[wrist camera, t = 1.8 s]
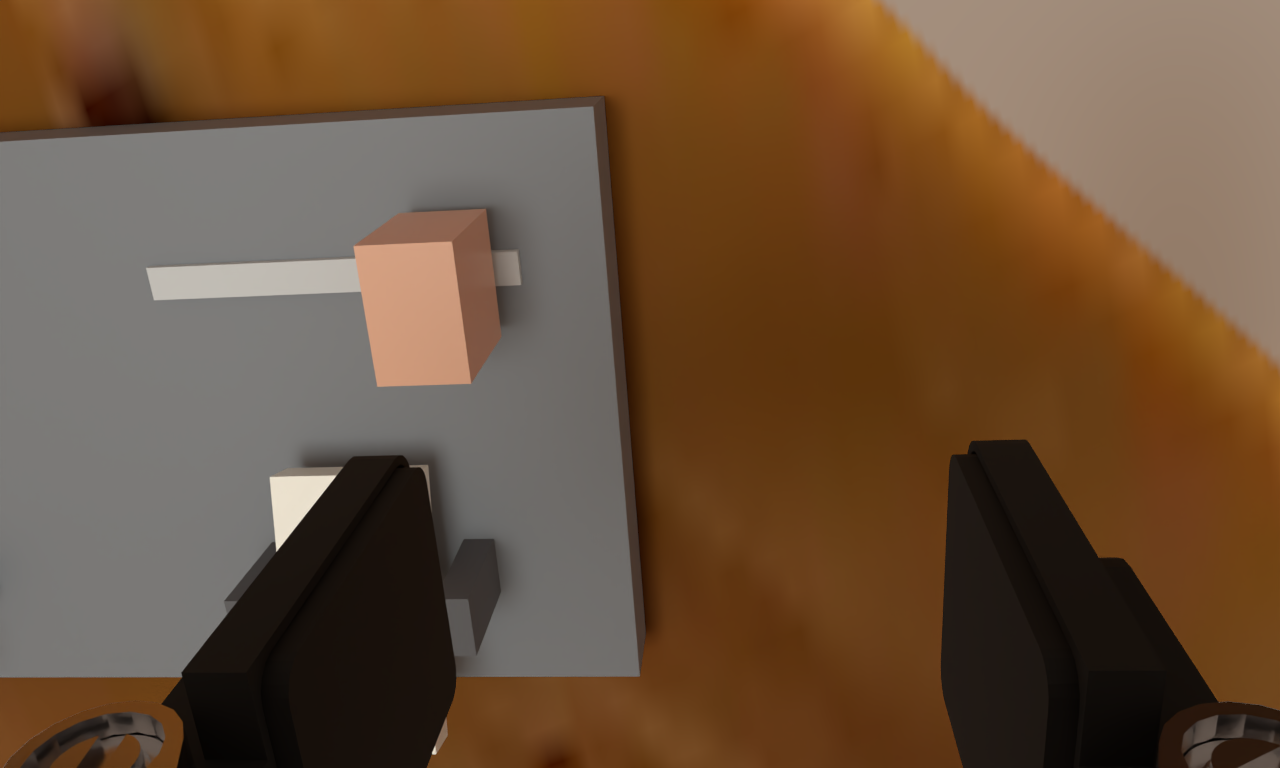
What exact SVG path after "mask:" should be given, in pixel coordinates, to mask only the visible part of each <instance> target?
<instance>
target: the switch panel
mask: <svg viewBox="0 0 1280 768" xmlns="http://www.w3.org/2000/svg"><path fill="white" fill-rule="evenodd" d="M470 209H486V213H487V221H488V229H489V237H490V246H491V254H492V262H493V270H494V278H495V287H496V295H497V303H498V311H499V319H500V328H501V336H502V337H501V338H500V340H499V341H498V343H497V344H496V346H495V347H494V349H493V351H492V352H491V354H490V355H489V357H488V358H487V360H486V361H485V363H484V365H483V366H482V368H481V369H480V371H479V372H478V374H477V375H476V377H475V379H474V380H473V382H472V383H471V384H450V385H418V386H386V387H377V382H376V376H375V370H374V364H373V359H372V353H371V347H370V341H369V335H368V329H367V323H366V317H365V312H364V306H363V300H362V294H361V288H360V282H359V276H358V270H357V265H356V259H355V253H354V247H353V246H354V245H355V244H357V243H358V242H360V241H361V240H362V239H364V238H365V237H366V236H368V235H369V234H371V233H372V232H373V231H375V230H376V229H377V228H379V227H380V226H382V225H383V224H384V223H386V222H387V221H388V220H390V219H391V218H393V217H394V216H395V215H397V214H398V213H410V212H430V211H450V210H470ZM384 455H403V456H404V457H405V458H406V459H407V461H408V463H409V465H428V468H429V482H430V496H431V510H432V518H433V524H434V531H435V537H436V543H437V550H438V556H439V562H440V569H441V575H442V581H443V588H444V594H445V600H446V607H447V613H448V619H449V626H450V632H451V638H452V645H453V651H454V657H455V664H456V677H606V676H640V671H641V664H642V657H643V650H644V643H645V636H646V628H645V615H644V602H643V590H642V577H641V564H640V551H639V538H638V525H637V512H636V499H635V487H634V474H633V461H632V448H631V435H630V422H629V409H628V396H627V384H626V371H625V358H624V345H623V332H622V319H621V306H620V294H619V281H618V268H617V255H616V242H615V229H614V216H613V203H612V191H611V178H610V165H609V152H608V139H607V126H606V113H605V100H604V96H596V97H579V98H563V99H546V100H529V101H513V102H496V103H480V104H463V105H447V106H430V107H414V108H397V109H381V110H364V111H347V112H331V113H314V114H298V115H281V116H265V117H248V118H232V119H215V120H198V121H182V122H165V123H149V124H132V125H116V126H99V127H83V128H66V129H50V130H33V131H16V132H0V677H182V674H181V672H182V671H183V670H184V668H185V667H186V666H187V665H188V663H189V662H190V661H191V660H192V658H193V657H194V656H195V654H196V653H197V652H198V651H199V649H200V648H201V647H202V646H203V644H204V643H205V642H206V641H207V639H208V638H209V637H210V635H211V634H212V633H213V632H214V630H215V629H216V628H217V627H218V625H219V624H220V623H221V621H222V620H223V619H224V618H225V616H226V615H227V614H228V613H229V611H230V610H231V609H232V608H233V606H234V605H235V604H236V602H237V601H238V600H239V599H240V597H241V596H242V595H243V594H244V592H245V591H246V590H247V589H248V587H249V586H250V585H251V583H252V582H253V581H254V580H255V578H256V577H257V576H258V575H259V573H260V572H261V571H262V570H263V568H264V567H265V566H266V564H267V563H268V562H269V561H270V559H271V558H272V557H273V556H274V554H275V553H276V541H275V530H274V520H273V509H272V498H271V487H270V476H272V475H275V474H277V473H279V472H281V471H283V470H285V469H287V468H314V467H344V466H345V464H346V463H347V462H348V461H349V459H351V458H352V457H353V456H384Z"/></svg>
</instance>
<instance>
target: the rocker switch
mask: <svg viewBox="0 0 1280 768" xmlns="http://www.w3.org/2000/svg"><path fill="white" fill-rule="evenodd" d="M409 466H410V467H421V468H422V470H423V471H424V473H425V476H426V481H427V486H428V493H429V499H430V505H431V496H430V482H429V468H428V465H409ZM342 468H343V467H314V468H287V469H285V470H283V471H281V472H279V473H277V474H275V475H272V476H270V487H271V498H272V509H273V520H274V530H275V541H276V552H277V551H278V549H279V548H280V547H281V545H282V544H283V543H284V542H285V540H286V539H287V538H288V537H289V535H290V534H291V533H292V532H293V530H294V529H295V528H296V526H297V525H298V524H299V523H300V521H301V520H302V519H303V518H304V516H305V515H306V514H307V513H308V511H309V510H310V509H311V507H312V506H313V505H314V504H315V502H316V501H317V500H318V499H319V497H320V496H321V495H322V494H323V492H324V491H325V490H326V488H327V487H328V486H329V485H330V483H331V482H332V481H333V480H334V478H335V477H336V476H337V475H338V473H339V472H340V471H341V469H342ZM431 512H432V510H431ZM447 736H448V734H447V720H446V719H445V721H444V724H443V727H442V729H441V732H440V734H439V737H438V739H437V742H436V745H435V747H434V750H433V752H432V754H437V752H438V750H439V749H440V747H441V745H442V744H443V742H444V740H445V739H446V737H447Z"/></svg>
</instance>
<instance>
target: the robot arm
mask: <svg viewBox="0 0 1280 768" xmlns="http://www.w3.org/2000/svg"><path fill="white" fill-rule="evenodd" d="M181 674H182V678H181V680H180V681H179V682H178V684H177V685H176V686H175V687H174V689H173V690H172V691H171V693H170V694H169V695H168V696H167V698H166V699H165V700H164V701H163V703H162V704H159V703H155V702H145V701H128V702H119V703H111V704H107V705H103V706H100V707H96V708H93V709H89V710H86V711H82V712H80V713H78V714H75V715H73V716H71V717H69V718H66V719H64V720H62V721H60V722H58V723H55V724H54V725H52V726H50V727H49V728H47V729H46V730H44V731H43V732H41V733H39V734H38V735H36V736H35V737H33V738H32V739H30V740H29V741H28V742H27V743H26V744H25V745H23V746H22V747H21V748H20V749H19V750H18V751H17V752H16V753H15V754H14V755H13V756H11V757H10V759H9V760H8V762H7V763H6V765H5V766H4V768H427V765H428V763H429V760H430V757H431V755H432V752H433V750H434V747H435V745H436V742H437V739H438V737H439V734H440V732H441V729H442V727H443V724H444V721H445V719H446V716H447V714H448V711H449V709H450V706H451V704H452V701H453V698H454V694H455V688H456V664H455V657H454V651H453V645H452V638H451V632H450V626H449V619H448V613H447V607H446V600H445V594H444V588H443V581H442V575H441V569H440V562H439V556H438V550H437V543H436V537H435V531H434V524H433V518H432V512H431V505H430V499H429V493H428V486H427V481H426V476H425V473H424V471H423V470H422V468H421V467H410V466H409V463H408V461H407V459H406V458H405V457H404V456H403V455H384V456H353V457H352V458H351V459H349V461H348V462H347V463H346V464H345V466H344V467H343V468H342V469H341V471H340V472H339V473H338V475H337V476H336V477H335V478H334V480H333V481H332V482H331V483H330V485H329V486H328V487H327V488H326V490H325V491H324V492H323V494H322V495H321V496H320V497H319V499H318V500H317V501H316V502H315V504H314V505H313V506H312V507H311V509H310V510H309V511H308V513H307V514H306V515H305V516H304V518H303V519H302V520H301V521H300V523H299V524H298V525H297V526H296V528H295V529H294V530H293V532H292V533H291V534H290V535H289V537H288V538H287V539H286V540H285V542H284V543H283V544H282V545H281V547H280V548H279V549H278V551H277V552H276V553H275V554H274V556H273V557H272V558H271V559H270V561H269V562H268V563H267V564H266V566H265V567H264V568H263V570H262V571H261V572H260V573H259V575H258V576H257V577H256V578H255V580H254V581H253V582H252V583H251V585H250V586H249V587H248V589H247V590H246V591H245V592H244V594H243V595H242V596H241V597H240V599H239V600H238V601H237V602H236V604H235V605H234V606H233V608H232V609H231V610H230V611H229V613H228V614H227V615H226V616H225V618H224V619H223V620H222V621H221V623H220V624H219V625H218V627H217V628H216V629H215V630H214V632H213V633H212V634H211V635H210V637H209V638H208V639H207V641H206V642H205V643H204V644H203V646H202V647H201V648H200V649H199V651H198V652H197V653H196V654H195V656H194V657H193V658H192V660H191V661H190V662H189V663H188V665H187V666H186V667H185V668H184V670H183V671H182V672H181ZM941 680H942V689H943V696H944V700H945V704H946V708H947V711H948V715H949V718H950V722H951V726H952V729H953V733H954V736H955V740H956V744H957V747H958V751H959V754H960V758H961V761H962V765H963V768H1280V710H1276V709H1273V708H1269V707H1265V706H1262V705H1255V704H1246V703H1237V702H1218V701H1217V699H1216V698H1215V696H1214V695H1213V693H1212V692H1211V690H1210V689H1209V687H1208V685H1207V684H1206V682H1205V681H1204V679H1203V678H1202V676H1201V675H1200V673H1199V672H1198V670H1197V669H1196V667H1195V665H1194V664H1193V662H1192V661H1191V659H1190V658H1189V656H1188V655H1187V653H1186V652H1185V650H1184V649H1183V647H1182V645H1181V644H1180V642H1179V641H1178V639H1177V638H1176V636H1175V635H1174V633H1173V632H1172V630H1171V629H1170V627H1169V625H1168V624H1167V622H1166V621H1165V619H1164V618H1163V616H1162V615H1161V613H1160V612H1159V610H1158V609H1157V607H1156V605H1155V604H1154V602H1153V601H1152V599H1151V598H1150V596H1149V595H1148V593H1147V592H1146V590H1145V589H1144V587H1143V585H1142V584H1141V582H1140V581H1139V579H1138V578H1137V576H1136V575H1135V573H1134V572H1133V570H1132V568H1131V567H1130V566H1129V565H1128V564H1127V563H1126V561H1125V560H1124V559H1121V558H1098V556H1097V554H1096V553H1095V551H1094V549H1093V548H1092V546H1091V544H1090V543H1089V541H1088V539H1087V538H1086V536H1085V534H1084V533H1083V531H1082V530H1081V528H1080V526H1079V525H1078V523H1077V521H1076V520H1075V518H1074V516H1073V515H1072V513H1071V511H1070V510H1069V508H1068V506H1067V505H1066V503H1065V501H1064V500H1063V498H1062V497H1061V495H1060V493H1059V492H1058V490H1057V488H1056V487H1055V485H1054V483H1053V482H1052V480H1051V478H1050V477H1049V475H1048V473H1047V472H1046V470H1045V468H1044V467H1043V465H1042V463H1041V462H1040V460H1039V459H1038V457H1037V455H1036V454H1035V452H1034V450H1033V449H1032V447H1031V445H1030V444H1029V442H1028V441H1027V440H992V441H971V443H970V445H969V450H968V454H963V455H952V457H951V460H950V467H949V486H948V510H947V533H946V556H945V579H944V603H943V626H942V649H941Z"/></svg>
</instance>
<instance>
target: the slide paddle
mask: <svg viewBox="0 0 1280 768" xmlns="http://www.w3.org/2000/svg"><path fill="white" fill-rule="evenodd" d="M353 247H354V253H355V259H356V265H357V270H358V276H359V282H360V288H361V294H362V300H363V306H364V312H365V317H366V323H367V329H368V335H369V341H370V347H371V353H372V359H373V364H374V370H375V376H376V382H377V387H386V386H418V385H450V384H471V383H472V382H473V380H474V379H475V377H476V375H477V374H478V372H479V371H480V369H481V368H482V366H483V365H484V363H485V361H486V360H487V358H488V357H489V355H490V354H491V352H492V351H493V349H494V347H495V346H496V344H497V343H498V341H499V340H500V338H501V337H502V336H501V328H500V319H499V311H498V303H497V295H496V287H495V278H494V270H493V262H492V254H491V246H490V237H489V229H488V221H487V213H486V209H470V210H450V211H430V212H410V213H398V214H397V215H395V216H394V217H393V218H391V219H390V220H388V221H387V222H386V223H384V224H383V225H382V226H380V227H379V228H377V229H376V230H375V231H373V232H372V233H371V234H369V235H368V236H366V237H365V238H364V239H362V240H361V241H360V242H358V243H357V244H355V245H354V246H353Z"/></svg>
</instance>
